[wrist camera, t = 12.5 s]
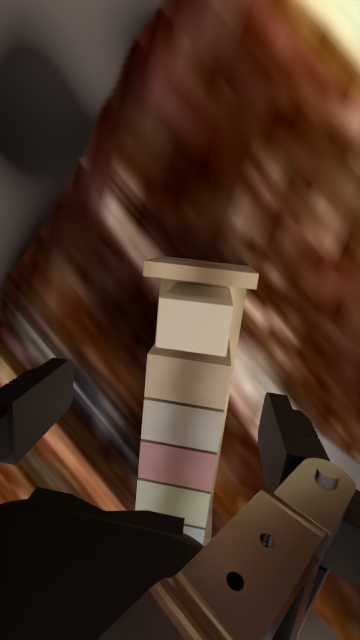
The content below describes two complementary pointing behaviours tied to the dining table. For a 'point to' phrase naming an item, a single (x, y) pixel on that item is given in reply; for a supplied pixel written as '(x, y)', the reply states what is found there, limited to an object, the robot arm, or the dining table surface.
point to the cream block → (195, 319)
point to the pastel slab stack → (187, 404)
